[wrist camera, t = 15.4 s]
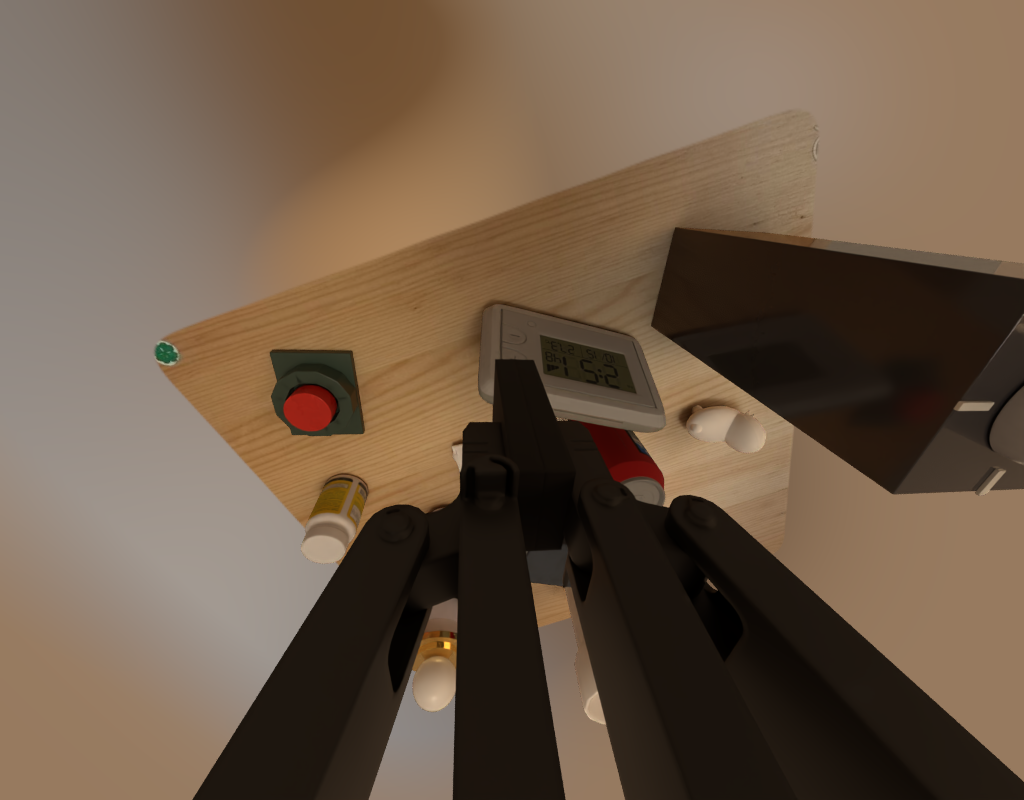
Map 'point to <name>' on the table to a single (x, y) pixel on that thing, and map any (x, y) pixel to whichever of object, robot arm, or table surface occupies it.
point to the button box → (325, 372)
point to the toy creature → (727, 428)
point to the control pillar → (859, 347)
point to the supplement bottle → (334, 519)
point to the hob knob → (1010, 430)
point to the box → (548, 566)
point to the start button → (310, 408)
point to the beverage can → (629, 462)
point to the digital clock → (574, 368)
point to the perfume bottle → (437, 658)
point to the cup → (584, 668)
